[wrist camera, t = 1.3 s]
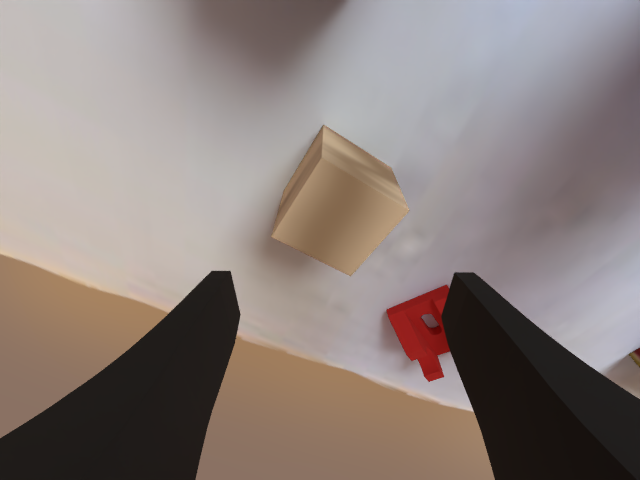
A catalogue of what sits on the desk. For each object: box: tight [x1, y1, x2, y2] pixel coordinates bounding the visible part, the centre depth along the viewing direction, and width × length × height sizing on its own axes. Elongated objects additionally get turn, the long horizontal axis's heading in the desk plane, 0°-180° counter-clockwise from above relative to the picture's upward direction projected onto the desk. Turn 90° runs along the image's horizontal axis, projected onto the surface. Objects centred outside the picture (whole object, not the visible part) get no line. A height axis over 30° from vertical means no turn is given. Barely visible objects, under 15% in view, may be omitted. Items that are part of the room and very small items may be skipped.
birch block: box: [271, 125, 410, 276], centre depth 16 cm, size 4×4×5 cm
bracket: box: [387, 285, 450, 382], centre depth 24 cm, size 6×5×3 cm
